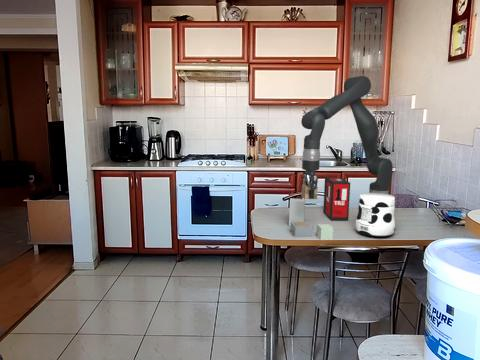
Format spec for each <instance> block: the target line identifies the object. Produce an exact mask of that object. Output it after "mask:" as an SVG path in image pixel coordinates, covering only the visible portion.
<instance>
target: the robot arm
mask: <svg viewBox="0 0 480 360" xmlns="http://www.w3.org/2000/svg"><path fill="white" fill-rule="evenodd" d="M371 89H372V82H371V80H370V79H369V77H367V76H364V75H360V76H353V77H348V78H347V79H345V81H344V82H343V92H341V93H339V94H337V95H334V96H332V97H331V98H329V99H327V100H326V101H325V102H323V103H322V104H320V105H319V106H317V107H315V108H313V109H311V110H309V111H308V112H306V113H304V114H303V116H302V117H301V121H300V123H301V126H302V128H303V129H307V130H310V133H309V134H307V135H305V136H304V138H303V151H302V160H301V161H302V162H301V165H302V166H301V169H302V170H304V171H303V172H302V185H309V198H314V190H315V189H317V187H318V183H319V176H318V175H316V171H319V170H320V164H321V163H320V161H321V139H322V136H323V133H324V130H325V128H326V120H327V121H328V120H329V119H331V118H332V117H333V116H335V115H336V114H337V113H339V112H340V111H341V110H343V109H344V108H346V107H347V106H348V105H349V107H350V110H351V112H352V114H353V118H354V121H355V124H356V127H357V128H356V129H357V132H358V135H359V138H360V141H361V144H362V148H363V152H364V158H365V163H366V168H367V170H368V173H370V174H371V175H373V176H376V178H375V179H376V180H375V181H373V182H370V184H369V187H368V189H369V190H368V193H383V194H388V195H389V190H390V186H391V183H392V178H393V169H394V167H393V166H394V165H393V163H392V160H391V159H390V158H386V157H380V156H379V152H378V149H377V144H378V141H379V136H380V129H379V126H378V122H377V120H376V117H375V116H374V115H373V114H372V112H370V110H368V108H367V106H365V103H363V101H362V98H363V97H364V96H367V95H368V94H369V92H370V91H371Z"/></svg>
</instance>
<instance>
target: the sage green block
mask: <svg viewBox="0 0 480 360" xmlns="http://www.w3.org/2000/svg"><path fill="white" fill-rule="evenodd" d="M316 237H317V238H318V239H319V240H320V241H326V240H331V241H332V240H333V239H334V227H333V226H332V225H331V224H328V223H322V224H319V223H318V224H317V225H316Z"/></svg>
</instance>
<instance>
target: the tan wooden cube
mask: <svg viewBox="0 0 480 360" xmlns="http://www.w3.org/2000/svg"><path fill="white" fill-rule="evenodd" d="M318 188H319V187H318V186H317V189H315V190H314V198H309V185H303V184H301V193H300V195H301V196H300V197H301V198H302V199H305V200H317V199H318Z"/></svg>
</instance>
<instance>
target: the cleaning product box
mask: <svg viewBox="0 0 480 360" xmlns="http://www.w3.org/2000/svg"><path fill="white" fill-rule="evenodd" d="M323 191H324V192H323V208H322V209H323V211H322V214H324V216H326V217H327V219H328V220H330V222H349V211H350V198H351V197H350V195H351V182H350V181H348V180H346V179H344V178H343V177H326V176H325V177H324V189H323Z"/></svg>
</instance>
